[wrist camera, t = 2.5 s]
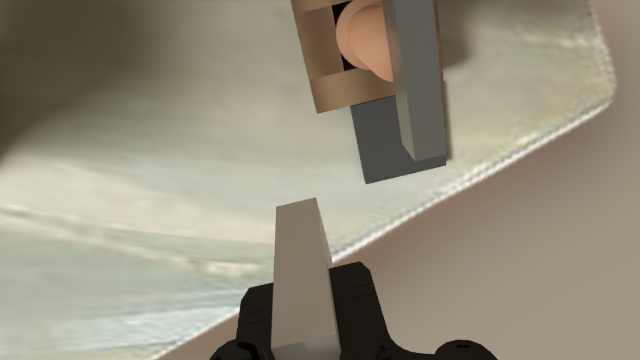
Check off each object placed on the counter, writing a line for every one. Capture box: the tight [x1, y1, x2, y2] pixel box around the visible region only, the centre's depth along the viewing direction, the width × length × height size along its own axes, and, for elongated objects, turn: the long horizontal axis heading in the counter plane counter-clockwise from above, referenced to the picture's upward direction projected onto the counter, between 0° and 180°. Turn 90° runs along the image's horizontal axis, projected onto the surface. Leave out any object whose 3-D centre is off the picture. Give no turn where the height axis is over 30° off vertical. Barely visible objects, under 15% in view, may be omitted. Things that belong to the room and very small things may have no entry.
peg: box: [336, 0, 393, 82], centre depth 33 cm, size 6×6×14 cm
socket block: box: [290, 0, 444, 114], centre depth 31 cm, size 12×16×15 cm
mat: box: [350, 95, 446, 184], centre depth 44 cm, size 9×9×1 cm
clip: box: [382, 0, 447, 161], centre depth 23 cm, size 4×16×3 cm, turn 13°
